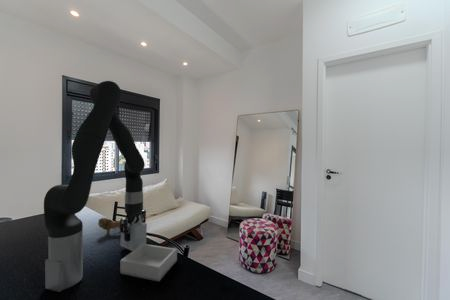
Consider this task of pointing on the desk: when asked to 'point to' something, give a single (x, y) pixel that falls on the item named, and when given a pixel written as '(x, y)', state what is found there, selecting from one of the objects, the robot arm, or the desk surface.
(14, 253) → the desk surface
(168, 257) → the tray
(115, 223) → the lion figurine
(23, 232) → the desk surface
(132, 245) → the skincare box
